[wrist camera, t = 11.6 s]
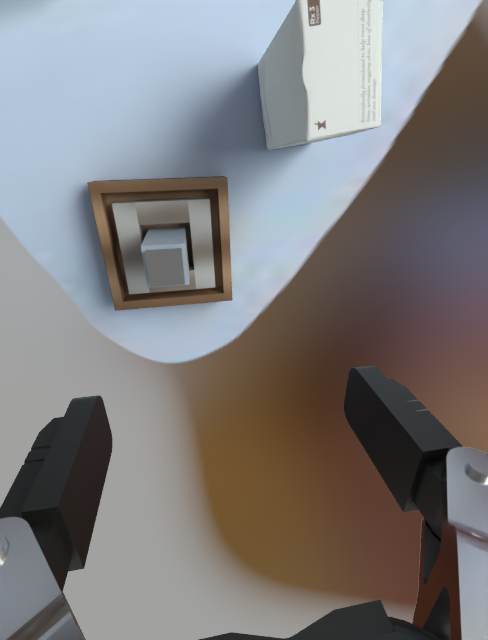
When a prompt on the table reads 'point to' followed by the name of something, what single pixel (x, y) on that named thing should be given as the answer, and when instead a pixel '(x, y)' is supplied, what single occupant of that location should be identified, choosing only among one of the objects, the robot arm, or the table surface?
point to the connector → (165, 256)
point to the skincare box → (323, 72)
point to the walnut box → (159, 211)
